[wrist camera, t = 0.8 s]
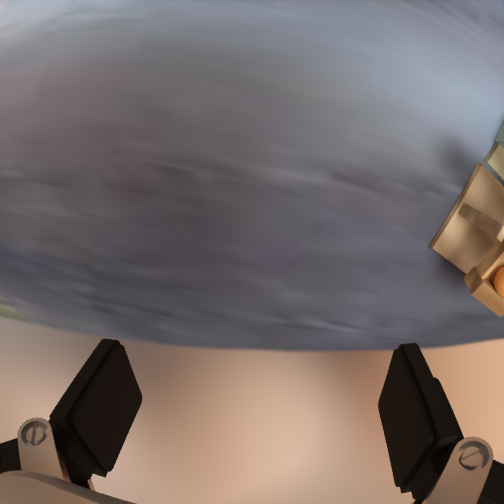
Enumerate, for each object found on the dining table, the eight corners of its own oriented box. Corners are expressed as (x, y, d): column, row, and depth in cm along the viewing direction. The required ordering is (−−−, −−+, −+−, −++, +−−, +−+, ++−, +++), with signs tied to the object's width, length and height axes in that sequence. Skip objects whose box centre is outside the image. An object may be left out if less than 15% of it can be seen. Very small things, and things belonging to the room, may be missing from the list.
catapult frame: (478, 163, 31) (525, 178, 22) (523, 211, 33) (565, 235, 23) (429, 245, 36) (465, 281, 27) (478, 283, 37) (513, 320, 28)
